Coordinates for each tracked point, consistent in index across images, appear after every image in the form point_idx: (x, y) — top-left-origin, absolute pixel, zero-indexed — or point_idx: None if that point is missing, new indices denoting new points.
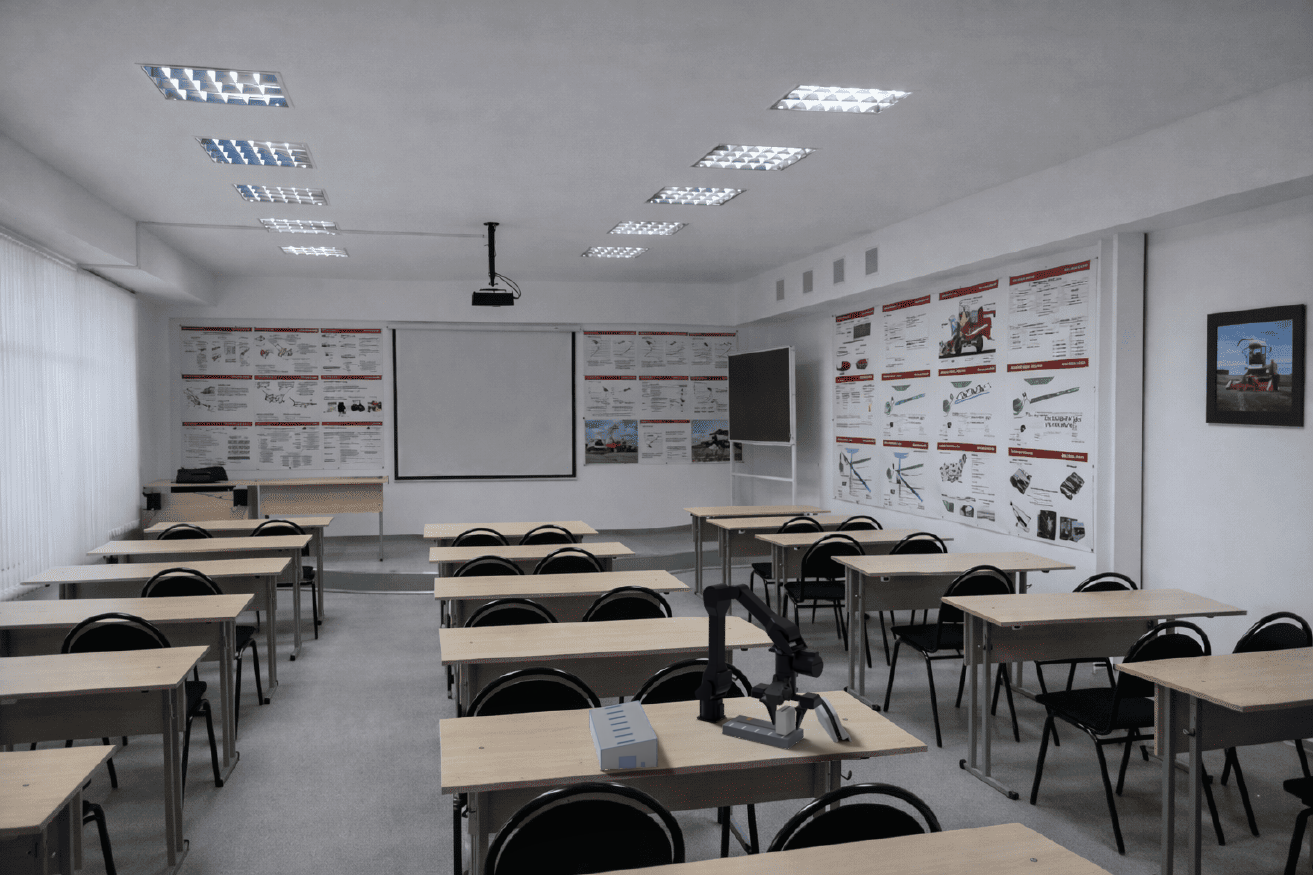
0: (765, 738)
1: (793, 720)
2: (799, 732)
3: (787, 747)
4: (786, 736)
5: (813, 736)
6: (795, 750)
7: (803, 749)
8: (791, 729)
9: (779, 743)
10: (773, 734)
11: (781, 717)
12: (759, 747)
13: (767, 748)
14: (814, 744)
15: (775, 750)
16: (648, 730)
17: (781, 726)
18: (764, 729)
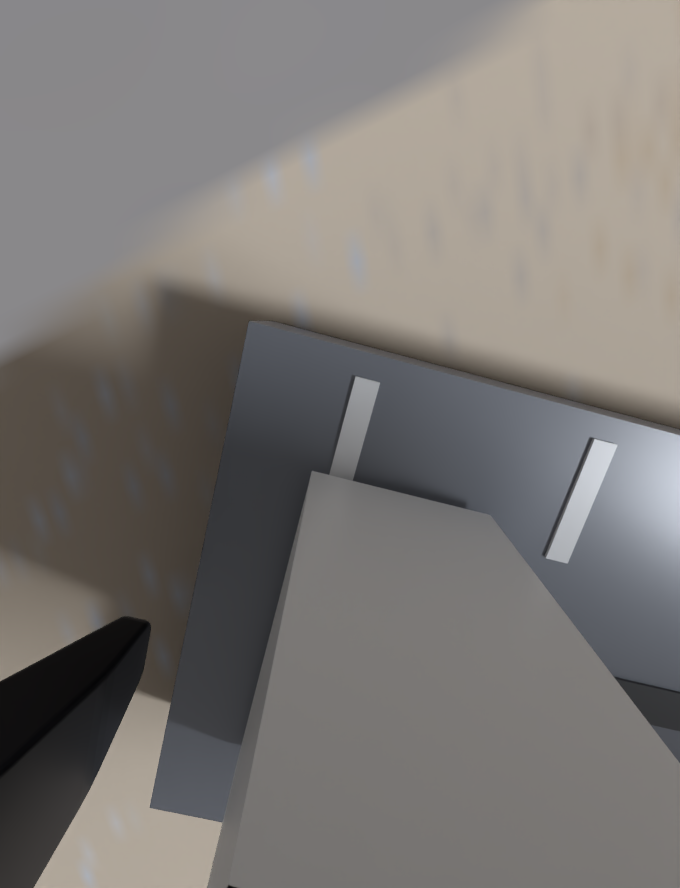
0: (612, 415)
1: (212, 867)
2: (174, 694)
3: (271, 321)
4: (304, 471)
5: (105, 770)
6: (171, 319)
7: (89, 387)
8: (260, 672)
9: (389, 353)
10: (518, 487)
11: (454, 720)
12: (640, 257)
13: (531, 259)
14: (23, 576)
15: (417, 224)
16: None
17: (406, 549)
18: (674, 632)
